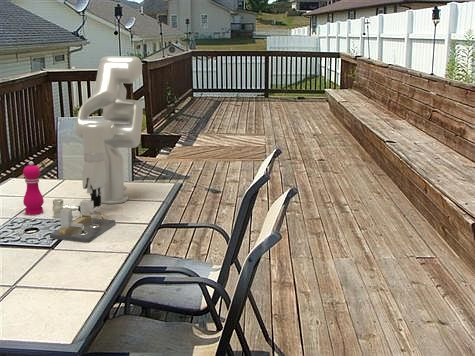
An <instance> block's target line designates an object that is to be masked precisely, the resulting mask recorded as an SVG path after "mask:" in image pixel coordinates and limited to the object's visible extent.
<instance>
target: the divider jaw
mask: <svg viewBox="0 0 475 356" xmlns="http://www.w3.org/2000/svg"><path fill="white" fill-rule="evenodd" d="M79 206H80V211H79V213H80V212H81V214H80V216H82V215H83V216H91V217H92V215H96V216H101V218H100V219H102V220H104V219H105V217H104V216H105V215H104V212H103V211H98V210H97V211H96V210H95V208H94V207H95V206H94V204H93V200H91V199H82V200H80V201H79Z"/></svg>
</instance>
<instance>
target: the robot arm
mask: <svg viewBox="0 0 475 356" xmlns="http://www.w3.org/2000/svg"><path fill="white" fill-rule="evenodd" d="M142 73H143V63H142V60H141V59H140V58H139V57H138V56H132V55H131V56H130V55H127V56H126V55H106V56H103V57H102V58H101V59H100V60H99V65H98V69H97V74H96V79H95V84H94V85H95V86H94V90H93V94H92V95H91V96H90V97H89V98H88V99H86V100H85V101H84V102H83V103H82V104H81V106H80V108H79V110H78V112H77V117H76V122H75V134H76V136H77V138H79V139H81V140H82V146H83V147H82V148H83V165H82V188H83V189H84V190H86V193H87V194H89V196H90V200H93V204H94V207H95V208H96V207H97V208H99V207H100V206H102V204H105V205H116V204H122V203H126V202H127V201H128V200H129V196H128V195H127V194H125V192H126V190H127V189H128V187H127V186H126V185H125V180H124V179H125V177H124V176H125V175H124V174H125V173H124V170H125V169H124V156H123V154H122V152H121V151H120V150H119V149H121V148H122V149H134V148H137V147H139V145H140V142H141V138H142V137H141V136H142V126H143V113H144V110H143V106H142V103H141V102H140V101H139V100H135V99H127V88H126V87H125V85H124V84H133V83H135V82H136V81H137V80H138V79H139V77H140V76H141V75H142ZM100 109H102V117H103V119H95V118H94V119H92V118H90V119H88V118H89V116H90V115H91V114H92V113H94V112H96V111H98V110H100Z"/></svg>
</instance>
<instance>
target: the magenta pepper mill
mask: <svg viewBox="0 0 475 356" xmlns="http://www.w3.org/2000/svg"><path fill="white" fill-rule="evenodd" d="M34 164H35V163H34V162H33V161H32V160H31V161H28V165H26V166H24V168H23V171H22V173H23V176H24V177H25V178H24V180H25V183H26V190H25V193H24V196H23V205H24V206H25V208H24V211H25V214H26V215H28V216H38V215H42V214H43V213H44V208H43V204H44V203H45V201H44V197H43V194H42V192H41V190H40V188H39V182H40V177H39V176H40V175H41V170H40V167H38V165H34Z"/></svg>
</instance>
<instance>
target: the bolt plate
mask: <svg viewBox="0 0 475 356" xmlns="http://www.w3.org/2000/svg"><path fill="white" fill-rule="evenodd" d="M59 219H60V227H59V228H58V229H56V230H55V231H53V232H51V233H50V234H49V238H50V239H52V238H54V239H53V240H62V241H69V242H70V241H71V242H79V243H88V244H89V243H90V242H92V241H93V240H94V239H96V238H98V237H99V236H101V235H102V234H104V233H105V232H107V231H108V230H109V229H111V228H112V227H114V226H115V225H116V220H115V219H107V218H104V220H102V219H101V218H98V217H97V218H96V217H92V215H91V216H82V215H81V216H79V217H78V218H75V219H73V211H72V210H70V209H63V210H61V211H60V218H59Z"/></svg>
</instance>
